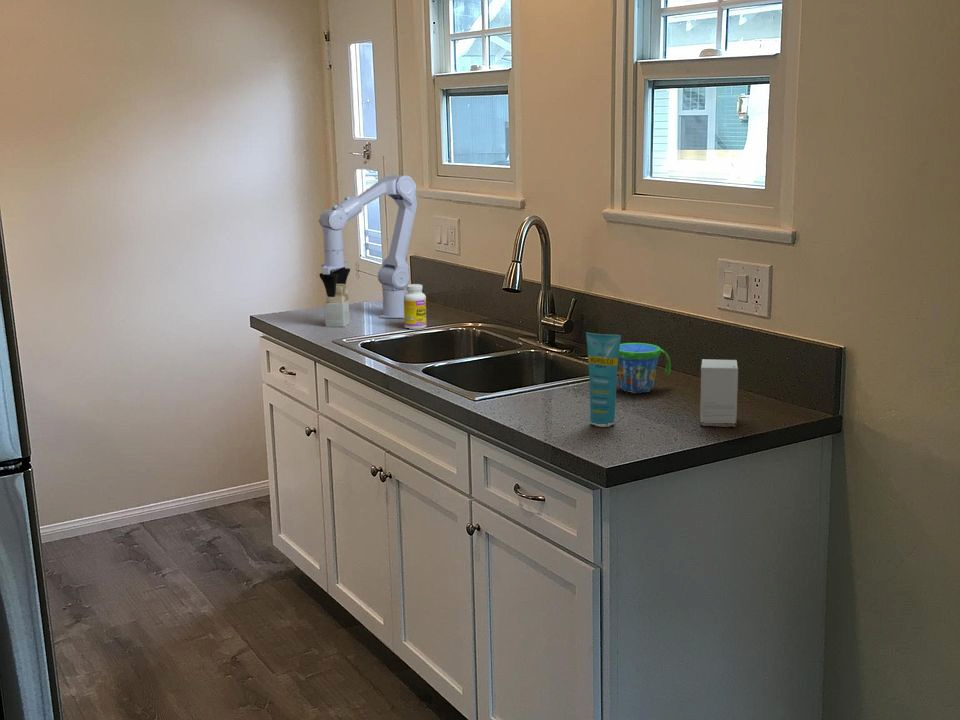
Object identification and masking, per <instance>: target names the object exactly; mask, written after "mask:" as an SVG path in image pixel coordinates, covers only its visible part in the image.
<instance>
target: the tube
mask: <svg viewBox="0 0 960 720" xmlns="http://www.w3.org/2000/svg"><path fill="white" fill-rule="evenodd" d="M585 336H586V337H585V338H586V346H587V357H588V358H587V359H588V377H589V378H588V379H589V381H588V382H589V415H590V416H589V418H590V420H589V422H590V421H591V422H592V423H596V424H608V423H613V422H614V423H615V418H616V400H617V399H616V397H617V380H618V371H617V370H618V358H619V348H620V344H621V340H622V335H621V334H601V333H592V332H585Z"/></svg>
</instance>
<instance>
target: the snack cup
mask: <svg viewBox="0 0 960 720" xmlns="http://www.w3.org/2000/svg"><path fill="white" fill-rule="evenodd" d="M661 353H663V355H664V356H665V358H666V364H665V371H664V373H665V375H666V376H669V375H670V373H671V369H672V368H671V367H672V364H671V358H670V356H669V354H668V353H667V352H666V351H665V350H664V349H662V348H661V347H660V346H658V345H656V344H651V343H645V342H625V343H620V348H619V358H618V370H617V379H618V385H619V389H620V388H621V389H623V390H626V391H633V392H643V391H648V390H651V389H652V390H653V388H654V384H655V378H656V374H657V373H656V372H657V367H658V362H659V359H660V356H661ZM652 390H651V391H652ZM643 393H644V392H643Z"/></svg>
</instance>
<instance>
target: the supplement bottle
mask: <svg viewBox="0 0 960 720" xmlns="http://www.w3.org/2000/svg"><path fill="white" fill-rule="evenodd" d="M406 290H407V291H408V293H407V294H405V295H404V318H403V319H404V320H403V321H404V323H403V324H404V328H406V329H407V328H409V329H408V330H422V329H425V328H427V325H428V323H427V296H426V294H425V293H424V292H423V284H419V283H413V284H412V283H411V284H407V286H406Z"/></svg>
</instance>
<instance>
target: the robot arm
mask: <svg viewBox="0 0 960 720" xmlns="http://www.w3.org/2000/svg"><path fill="white" fill-rule="evenodd" d="M416 190H417V184H416V182H415V181H414V179H413V178H412V177H411V176H409V175H398V174H396V175H395V174H387V175H385V177H381V178H380V179H379V180H378V181H377V182H376V183H374V184H373V185H372V186H370V187H369V188H367V189H366V190H364V191H363V192H362V193H360V194H359V195H358V196H354V195H351V196H349V195H347V196H345V197H344V200H342V201H341V202H339V203H338V204H333V205H332V208H331V209H328V208H327V209H325V210H323V211H322V213H321V214H320V217H319V219H318V223H319V225H320V227H321V228H322V233H323V251H324V253H323V255H324V263H322V264H321V268H322V269H321V271H322V272H321V273H319V278H320V280H321V282H322V283H323V286H324V288H325V289H324V290H325V293H326V292H327V296H328V297H335V294H336V284H347V281H348V280H347V279H348V276H349V275H350V272H351V268H347V267H348V265H347V264H348V263H347V260H345V257H344V255H345V252H344V238H343V237H344V236H343V235H344V234H343V228H345V226H346V223H347V222H348V221H350V220H352V219H353V218H355V217H356V216H358V215H359V214H361V213H362V212H363V208H364V206H366V205H368V204H369V203H371V202H373V201H375V200H376V199H378V198H380V197H382V196H383V195H387V196H389V197H390V199H391V198H392V199H393V201H394V202H395V203H396V205H397V206H398V209H397V210H398V211H397V215H396V219H395V224H394V229H393V234H392V238H391V241H390V242H391V243H390V248H389V253H388V256H387V257H386V258H385V259H384V260H383V262H382V266H381V267H380V268H379V270H378V272H377V280H378V282H379V283H380V284H381V287H382V308H383V309H382V310H383V312H382V314H380V315H378V317H379V318H385V319H388V318H389V319H404V295H405V294H407V293H408V291H407V285H409V283H410V274H409V270H410V266H409V264H408V262H407V254H408V249H409V245H410V241H411V236H412V231H413V227H414V222H415V217H416V214H417V213H416V212H417V208H418V201H417V200H418V199H417V193H416V192H417V191H416Z"/></svg>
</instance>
